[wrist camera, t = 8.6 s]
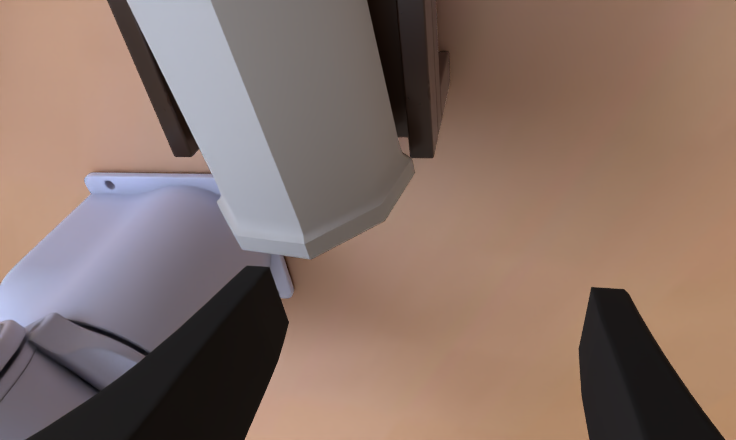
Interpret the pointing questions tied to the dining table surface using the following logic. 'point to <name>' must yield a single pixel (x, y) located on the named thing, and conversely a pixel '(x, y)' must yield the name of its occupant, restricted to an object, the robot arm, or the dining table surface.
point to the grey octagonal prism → (284, 115)
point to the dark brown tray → (397, 55)
